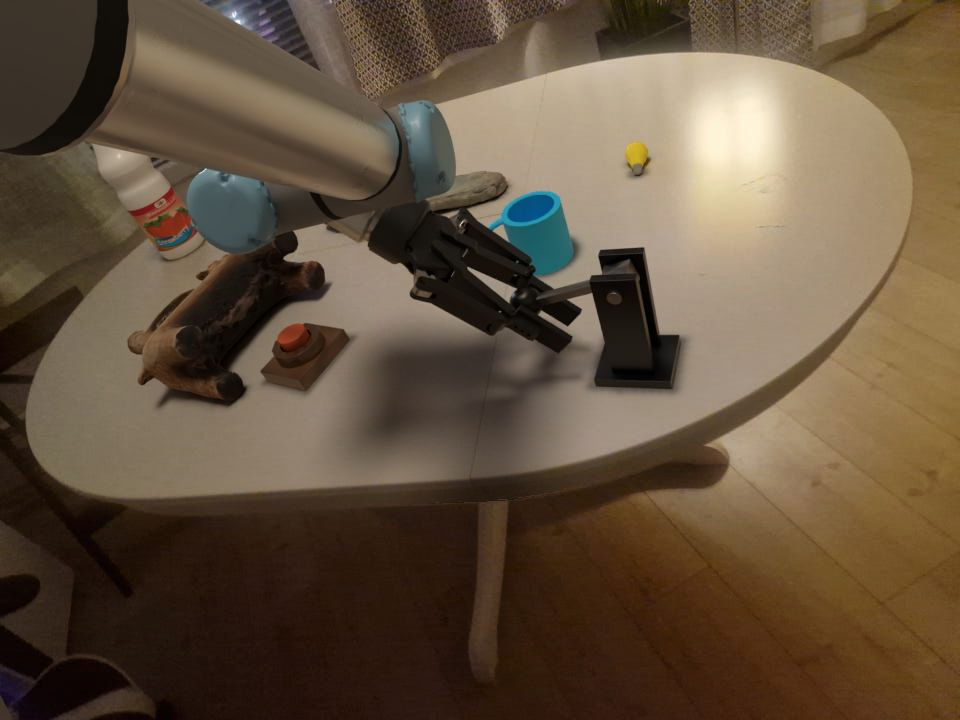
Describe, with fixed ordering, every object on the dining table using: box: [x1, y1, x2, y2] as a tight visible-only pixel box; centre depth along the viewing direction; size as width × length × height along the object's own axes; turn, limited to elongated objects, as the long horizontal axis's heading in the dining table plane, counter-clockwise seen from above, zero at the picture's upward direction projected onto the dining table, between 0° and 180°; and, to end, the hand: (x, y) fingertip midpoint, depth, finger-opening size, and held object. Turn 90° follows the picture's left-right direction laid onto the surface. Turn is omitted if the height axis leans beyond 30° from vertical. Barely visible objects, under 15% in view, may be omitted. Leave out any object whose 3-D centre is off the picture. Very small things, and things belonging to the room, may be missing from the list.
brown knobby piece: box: [126, 231, 326, 402], centre depth 99 cm, size 13×31×25 cm
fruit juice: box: [90, 143, 205, 261], centre depth 125 cm, size 9×9×28 cm
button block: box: [260, 322, 351, 392], centre depth 89 cm, size 10×8×4 cm
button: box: [276, 322, 310, 353], centre depth 88 cm, size 4×4×2 cm
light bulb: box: [624, 141, 649, 176], centre depth 99 cm, size 3×6×4 cm, turn 170°
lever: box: [509, 259, 640, 316], centre depth 66 cm, size 14×4×4 cm, turn 70°
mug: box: [487, 190, 575, 277], centre depth 89 cm, size 12×8×8 cm
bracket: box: [589, 246, 681, 390], centre depth 66 cm, size 8×7×14 cm
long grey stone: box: [323, 170, 508, 229], centre depth 113 cm, size 35×5×10 cm
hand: (569, 331), depth 70 cm, fingers closed on lever, 4 cm apart
